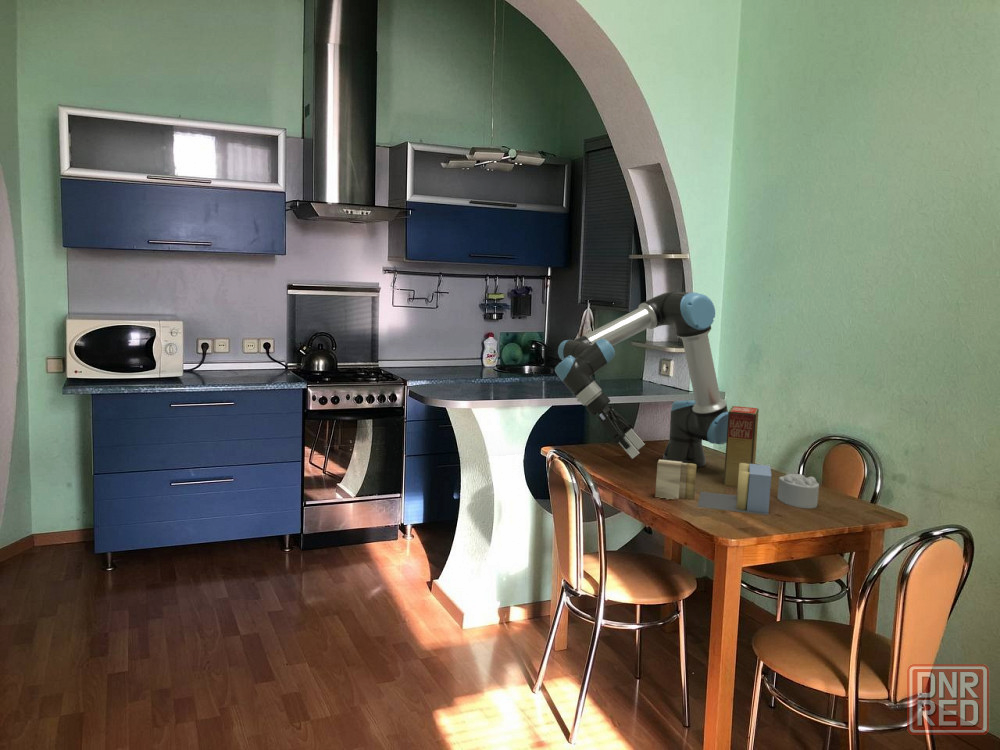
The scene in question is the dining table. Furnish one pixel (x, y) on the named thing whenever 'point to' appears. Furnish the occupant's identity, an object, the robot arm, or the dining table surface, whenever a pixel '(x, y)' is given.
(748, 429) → the food packaging
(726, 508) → the mat
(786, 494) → the lumpy-topped squat cylinder
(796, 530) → the dining table surface
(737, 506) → the fixed leaf
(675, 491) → the beige block
